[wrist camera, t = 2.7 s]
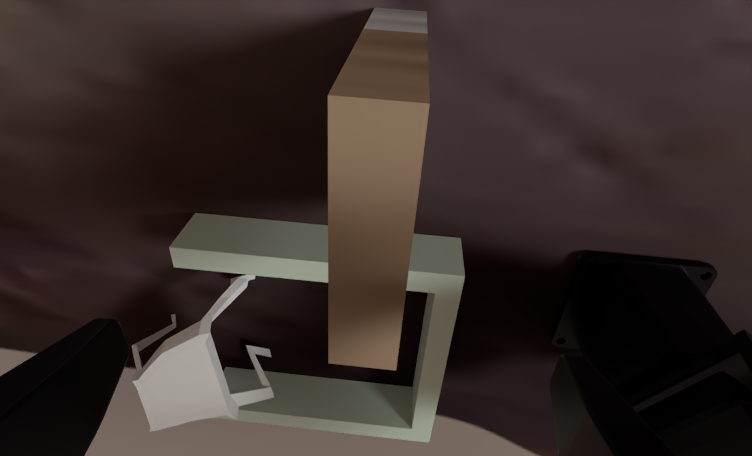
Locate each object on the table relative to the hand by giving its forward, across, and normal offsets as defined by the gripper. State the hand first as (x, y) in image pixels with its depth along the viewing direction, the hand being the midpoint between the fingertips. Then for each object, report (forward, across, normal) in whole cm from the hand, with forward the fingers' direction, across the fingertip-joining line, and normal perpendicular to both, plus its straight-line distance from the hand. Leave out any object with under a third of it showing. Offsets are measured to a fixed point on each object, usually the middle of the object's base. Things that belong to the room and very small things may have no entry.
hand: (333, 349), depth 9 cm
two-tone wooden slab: (+13, 0, 0) cm, 13 cm away
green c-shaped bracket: (+13, +3, +12) cm, 18 cm away
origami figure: (+13, +9, +13) cm, 21 cm away
